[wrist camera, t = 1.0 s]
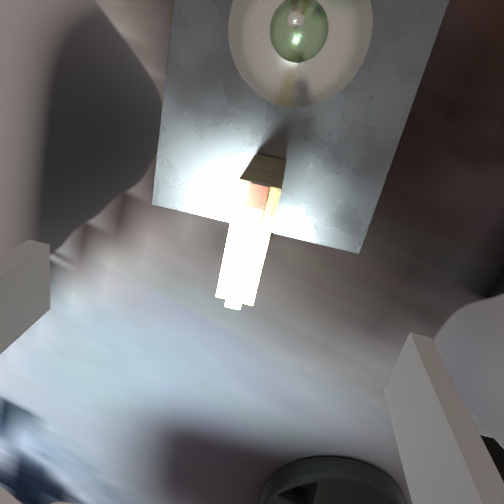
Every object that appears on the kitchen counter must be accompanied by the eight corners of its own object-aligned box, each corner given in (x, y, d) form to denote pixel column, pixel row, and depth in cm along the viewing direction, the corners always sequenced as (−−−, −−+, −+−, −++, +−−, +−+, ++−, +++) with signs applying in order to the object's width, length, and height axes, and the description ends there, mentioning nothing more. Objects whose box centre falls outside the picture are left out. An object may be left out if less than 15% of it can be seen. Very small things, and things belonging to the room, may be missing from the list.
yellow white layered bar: (264, 252, 30) (251, 313, 22) (235, 245, 30) (212, 303, 22) (287, 159, 27) (281, 190, 19) (255, 152, 27) (237, 180, 19)
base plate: (357, 248, 30) (365, 272, 27) (156, 200, 31) (135, 216, 27) (520, -215, 20) (571, -285, 16) (211, -281, 20) (190, -364, 16)
